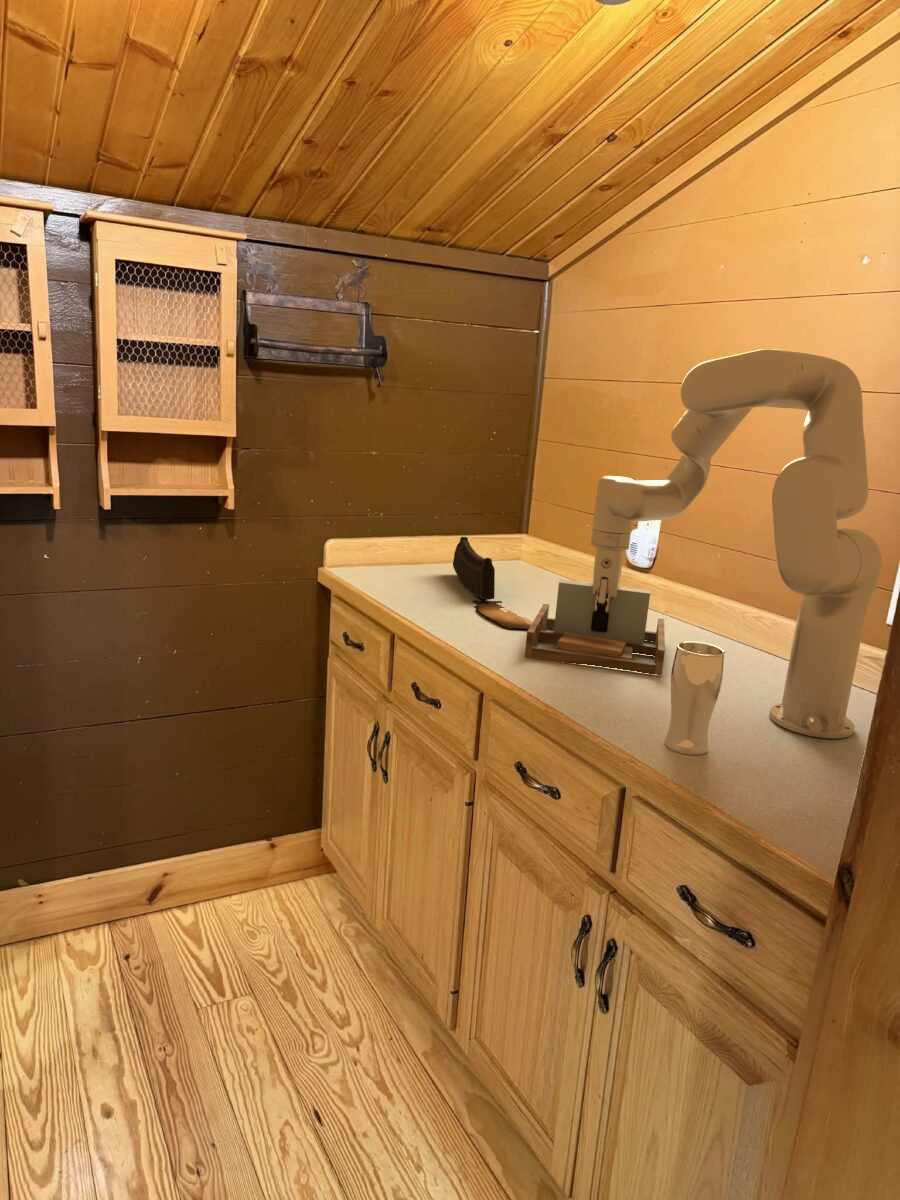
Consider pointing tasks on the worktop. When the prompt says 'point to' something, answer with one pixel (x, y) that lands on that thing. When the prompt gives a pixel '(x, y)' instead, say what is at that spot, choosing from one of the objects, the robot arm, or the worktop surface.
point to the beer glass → (693, 695)
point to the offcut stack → (594, 646)
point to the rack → (539, 634)
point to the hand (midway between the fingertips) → (599, 628)
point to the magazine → (474, 570)
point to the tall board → (623, 612)
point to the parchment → (501, 615)
